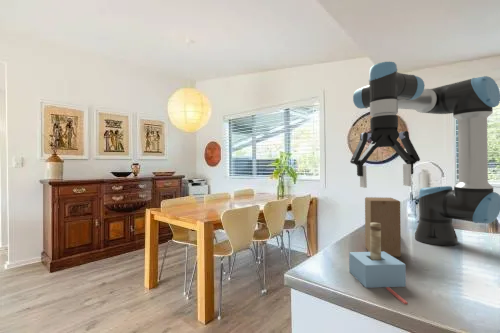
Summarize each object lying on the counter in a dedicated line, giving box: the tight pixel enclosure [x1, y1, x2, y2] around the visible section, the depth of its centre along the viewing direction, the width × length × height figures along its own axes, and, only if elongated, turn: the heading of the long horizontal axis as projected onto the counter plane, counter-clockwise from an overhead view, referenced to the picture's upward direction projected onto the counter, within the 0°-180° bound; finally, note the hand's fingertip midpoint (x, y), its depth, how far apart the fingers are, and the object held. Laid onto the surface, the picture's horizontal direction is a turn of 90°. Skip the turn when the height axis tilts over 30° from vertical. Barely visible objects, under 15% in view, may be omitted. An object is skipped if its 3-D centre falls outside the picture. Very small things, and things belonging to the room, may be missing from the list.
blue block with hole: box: [348, 251, 407, 289], centre depth 79 cm, size 11×11×6 cm
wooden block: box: [364, 196, 402, 258], centre depth 103 cm, size 10×10×20 cm
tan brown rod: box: [370, 222, 381, 260], centre depth 79 cm, size 3×3×16 cm
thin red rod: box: [385, 287, 408, 305], centre depth 69 cm, size 1×8×1 cm, turn 2°
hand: (385, 186), depth 83 cm, fingers open, 13 cm apart
